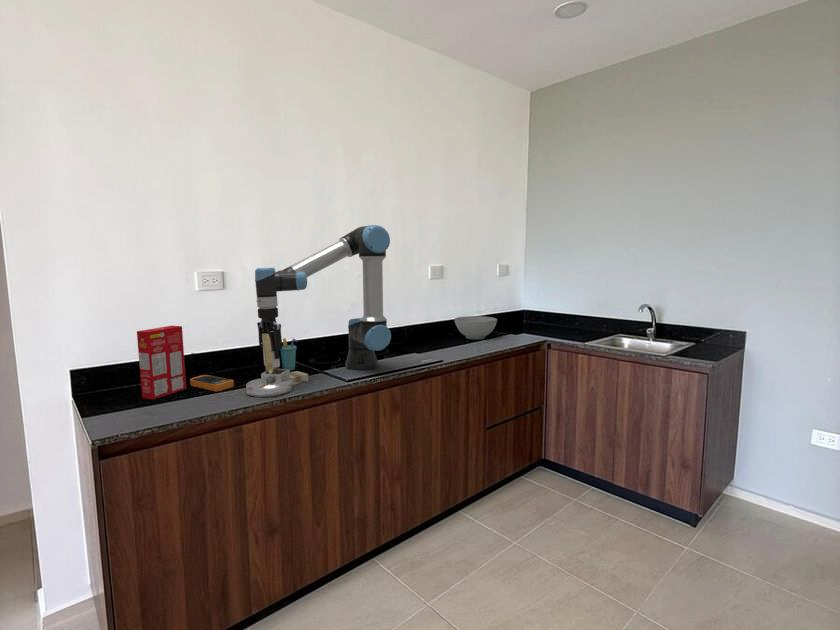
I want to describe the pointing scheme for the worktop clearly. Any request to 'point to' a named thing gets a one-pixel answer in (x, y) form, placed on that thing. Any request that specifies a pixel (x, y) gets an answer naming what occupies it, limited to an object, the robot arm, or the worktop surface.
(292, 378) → the key block
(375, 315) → the robot arm
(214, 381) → the multimeter
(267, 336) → the tan cylinder
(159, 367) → the food packaging
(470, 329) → the decorative bowl
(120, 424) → the worktop surface
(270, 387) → the grey flat rounded piece
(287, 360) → the cup
